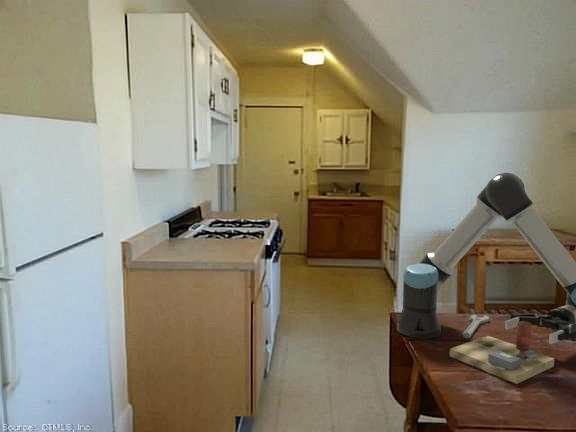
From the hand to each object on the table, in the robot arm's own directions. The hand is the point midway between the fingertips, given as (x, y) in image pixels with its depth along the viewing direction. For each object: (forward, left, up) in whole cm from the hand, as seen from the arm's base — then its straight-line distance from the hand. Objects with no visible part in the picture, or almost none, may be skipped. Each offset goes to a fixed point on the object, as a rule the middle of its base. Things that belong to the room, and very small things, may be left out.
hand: (527, 332), depth 142 cm
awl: (0, -1, -10) cm, 10 cm away
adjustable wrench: (-29, +15, -11) cm, 34 cm away
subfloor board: (-5, -4, -10) cm, 12 cm away
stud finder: (0, -11, -8) cm, 13 cm away
